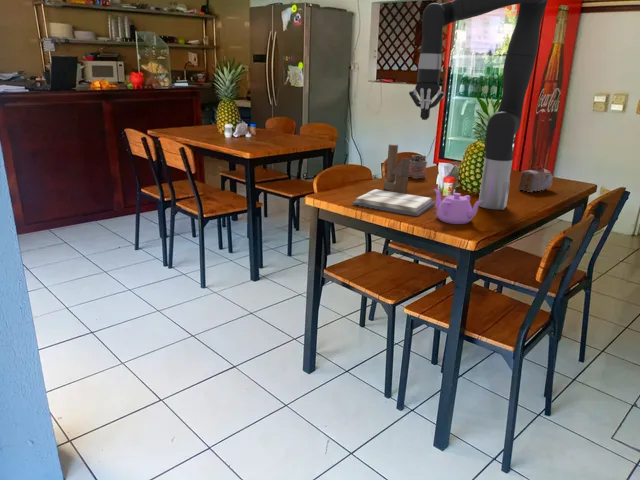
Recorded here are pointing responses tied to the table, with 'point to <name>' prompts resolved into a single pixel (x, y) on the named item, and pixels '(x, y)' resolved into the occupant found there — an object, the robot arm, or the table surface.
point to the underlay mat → (397, 209)
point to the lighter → (417, 167)
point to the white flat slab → (390, 202)
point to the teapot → (455, 208)
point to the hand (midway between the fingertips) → (424, 119)
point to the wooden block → (396, 172)
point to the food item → (535, 179)
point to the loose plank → (401, 196)
